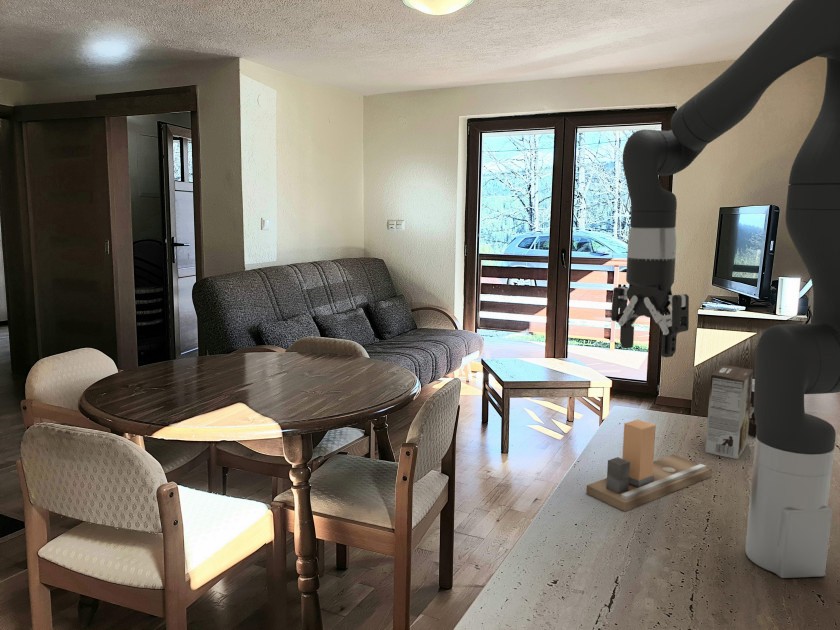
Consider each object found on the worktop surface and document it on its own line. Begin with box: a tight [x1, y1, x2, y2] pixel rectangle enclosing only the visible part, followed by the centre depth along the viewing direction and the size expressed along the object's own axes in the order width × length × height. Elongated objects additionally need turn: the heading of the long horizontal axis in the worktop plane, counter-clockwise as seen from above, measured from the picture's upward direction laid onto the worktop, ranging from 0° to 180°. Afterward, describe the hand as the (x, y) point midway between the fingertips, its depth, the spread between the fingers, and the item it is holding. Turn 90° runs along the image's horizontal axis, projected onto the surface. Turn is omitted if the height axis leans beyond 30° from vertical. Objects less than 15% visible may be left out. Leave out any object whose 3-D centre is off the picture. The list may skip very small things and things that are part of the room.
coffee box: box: [704, 364, 754, 460], centre depth 130 cm, size 9×6×16 cm
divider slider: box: [621, 419, 657, 487], centre depth 112 cm, size 4×4×10 cm
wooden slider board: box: [585, 454, 713, 512], centre depth 115 cm, size 24×8×6 cm, turn 124°
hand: (646, 352), depth 111 cm, fingers open, 8 cm apart
